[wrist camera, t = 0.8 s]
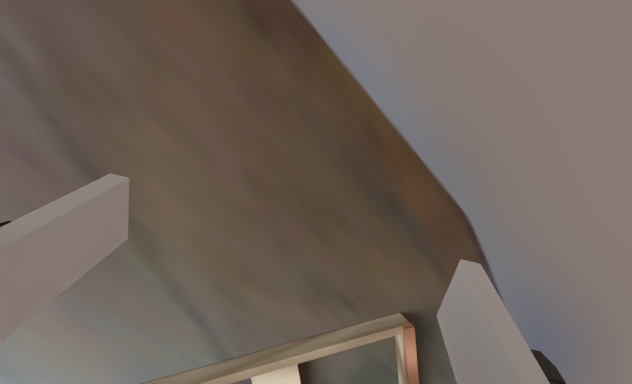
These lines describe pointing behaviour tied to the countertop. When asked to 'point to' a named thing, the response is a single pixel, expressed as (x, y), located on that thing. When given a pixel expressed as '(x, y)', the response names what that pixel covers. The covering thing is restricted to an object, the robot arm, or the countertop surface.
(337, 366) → the countertop surface
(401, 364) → the bottle rack
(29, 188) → the countertop surface
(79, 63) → the countertop surface
